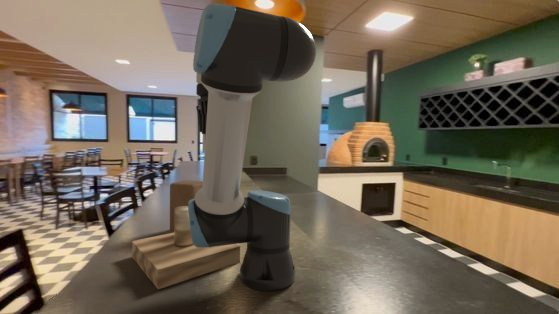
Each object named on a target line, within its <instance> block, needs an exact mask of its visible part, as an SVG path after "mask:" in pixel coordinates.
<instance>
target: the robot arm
mask: <svg viewBox="0 0 559 314" xmlns="http://www.w3.org/2000/svg"><path fill="white" fill-rule="evenodd" d="M200 15H201V16H200V19H199V23H198V27H197V34H196V37H195V39H196V40H195V45H194V54H193V61H192V63H193V64H192V66H193V68H192V69H193V71H194V72H195V73H196V76H195V77H196V78H195V79H196V83H197V84H196V91H195V92H196V93H195V94H196V96H198V97H200V100H199V105H196V107H195V108H196V109H195V110H196V113H197V120H198V132H199V133H201V134H202V154H204V155H203V157H204V158H203V172H202V182H203V184H202V188H201V189H200V190H198V192H197V193H196V195H195V199H193V200H190V201H189V202H188V211H189V220H190V230H191V238H192V243H193V245H194V246H196V247H209V248H210V247H215V246H223V245H231V244H237V245H240V244H246V249H245V250H246V251H245V254H244V256H243V260H242V263H241V265H240V267H239V268H240V269H239V279H240V282H241V283H242V284H243V285H244V286H246V287H247V288H250V289H253V290H256V291H262V292H263V291H266V292H270V291H278V290H279V291H280V290H282V289H285V288H287V287H290V286H291V285H292V284H293V283H294V282H295V280H296V267H295V265H294V262H293V257H292V254H291V250H290V245H291V244H290V241H291V240H290V238H291V221H292V219H291V216H292V209H291V200H290V198H289V197H288V196H287V195H284V194H283V193H282V194H281V193H278V192H274V191H270V190H269V191H267V190H259V189H258V190H257V189H255V190H250V191H248V193H247V196H246V197H245V196H244V195H243V193H242V191H240V189H241V188H240V187H241V183H242V182H241V181H242V174H243V167H244V159H245V151H246V146H247V139H248V131H249V125H250V117H251V111H252V102H253V99H254V97H256V96H258V95H259V94H261V92H262V89H263V83H264V81H269V82H282V83H283V82H290V81H294V80H297V79H300V78H301V77H304V76H305V75H306V74H307V73H308V72H309V71H310V70H311V69H312V67H313V65H314V63H315V60H316V56H317V47H316V41H315V39H314V37H313V35H312V33H311V32H310V31H309V30H308V29H307V28H306V27H305V25H303V24H302V23H301V22H299V21H297V20H296V19H292V18H290V17H287V16H282V15H281V16H280V15H276V14H271V13H268V12H262V11H258V10H254V9H250V8H245V7H239V6H236V5H234V4H223V3H215V2H212V3H209V4H207V5H206V6H205V7H204V8H203V10H202V13H201V14H200Z"/></svg>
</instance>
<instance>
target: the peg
mask: <svg viewBox="0 0 559 314" xmlns="http://www.w3.org/2000/svg"><path fill="white" fill-rule="evenodd" d="M174 245H175V246H176V247H180V248H184V247H190V246H193V243H192V238H191V230H190V220H189V211H188V206H181V207H177V208H175V219H174Z"/></svg>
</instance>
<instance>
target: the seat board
mask: <svg viewBox="0 0 559 314" xmlns="http://www.w3.org/2000/svg"><path fill="white" fill-rule="evenodd" d="M191 200H193V199H191ZM131 258H132V259H133V260H134V262H136V264H137V265H138V266H139V267H140V269H141V270H142V272H143V273H144V274H145V275H146V276H147V278H148V279H149V280H150V281H151V283H152V284H153V285H154V287H156V289H157V290H160V289H163V288H166V287H170V286H172V285H175V284H179V283H182V282H184V281H188V280H191V279H194V278H196V277H199V276H203V275H205V274H209V273H211V272H215V271H217V270H220V269H221V270H222V269H223V268H227V267H229V266H233V265H235V264H238V263H240V262H241V245H240V244H231V245H223V246H215V247H210V248H209V247H196V246H194V245H193V246H190V247H184V248H180V247H176V246H175V245H174V232H173V233H170V232H169V233H165V234H160V235H156V236H151V237H145V238H140V239H134V240H131Z"/></svg>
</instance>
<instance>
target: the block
mask: <svg viewBox="0 0 559 314" xmlns="http://www.w3.org/2000/svg"><path fill="white" fill-rule="evenodd" d="M202 184H203V180H202V181H201V180H185V179H183V180H179V181H176V182H172V183H170V184H169V233H173V232H174V219H175V208H177V207H181V206H188V202H189V201H190V200H191V199H195V195H196V193H197V192H198V190H200V189H201V188H202Z"/></svg>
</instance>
